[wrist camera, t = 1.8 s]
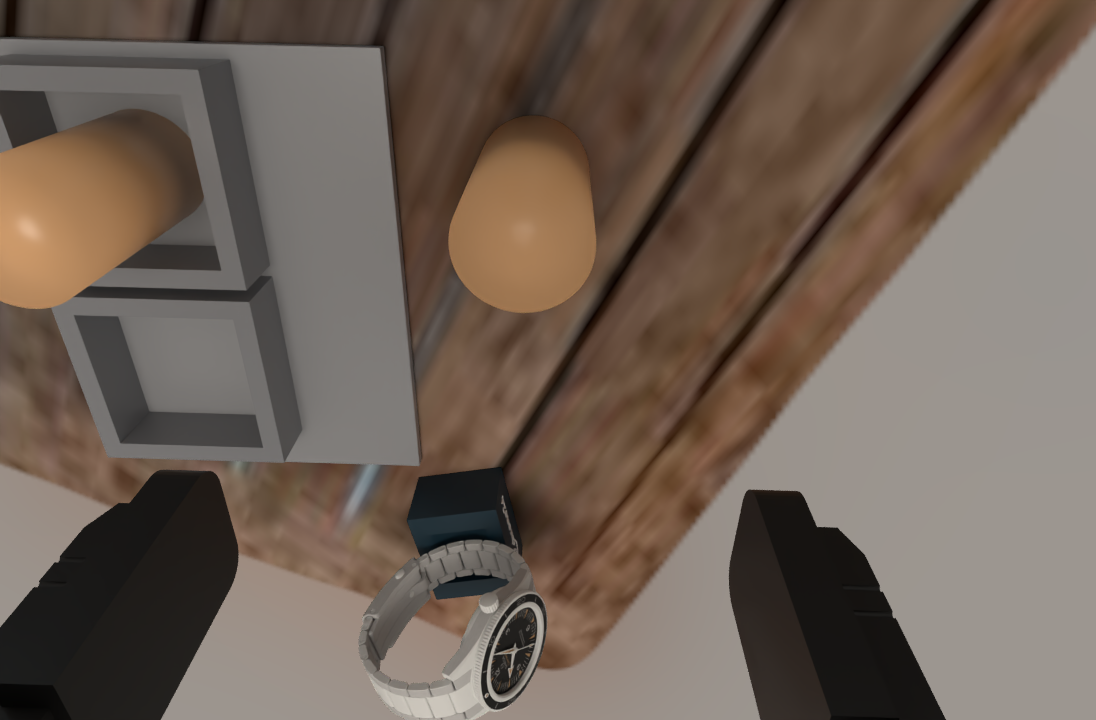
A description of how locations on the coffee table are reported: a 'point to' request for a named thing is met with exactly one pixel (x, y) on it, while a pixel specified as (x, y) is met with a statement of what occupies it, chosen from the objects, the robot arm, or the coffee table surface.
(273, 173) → the housing
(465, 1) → the coffee table surface
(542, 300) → the orange peg
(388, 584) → the watch
